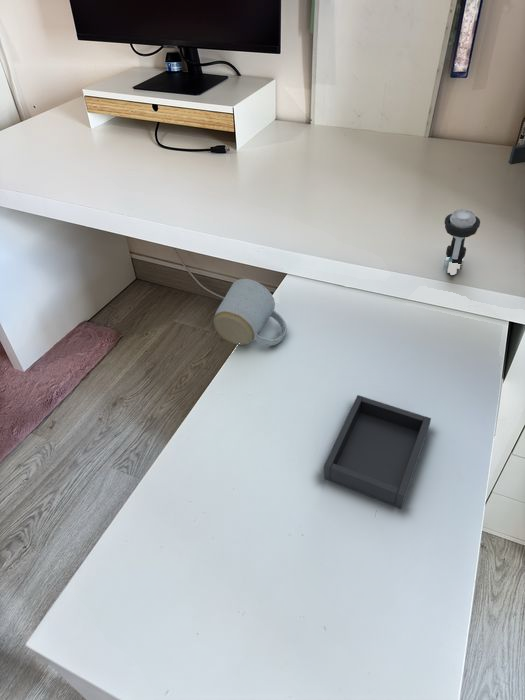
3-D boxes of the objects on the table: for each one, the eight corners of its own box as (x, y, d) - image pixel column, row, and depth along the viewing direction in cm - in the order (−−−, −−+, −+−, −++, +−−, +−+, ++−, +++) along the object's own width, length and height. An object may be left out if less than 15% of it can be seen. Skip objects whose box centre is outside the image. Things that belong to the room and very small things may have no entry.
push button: (467, 283, 84) (479, 231, 76) (433, 278, 85) (443, 227, 78) (470, 259, 88) (482, 208, 81) (438, 255, 89) (447, 205, 82)
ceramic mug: (213, 342, 80) (205, 306, 74) (235, 309, 85) (229, 273, 79) (275, 358, 77) (272, 322, 71) (294, 322, 82) (292, 286, 76)
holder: (427, 431, 65) (431, 418, 63) (401, 509, 58) (404, 496, 56) (356, 408, 69) (357, 394, 66) (324, 478, 62) (323, 466, 60)
